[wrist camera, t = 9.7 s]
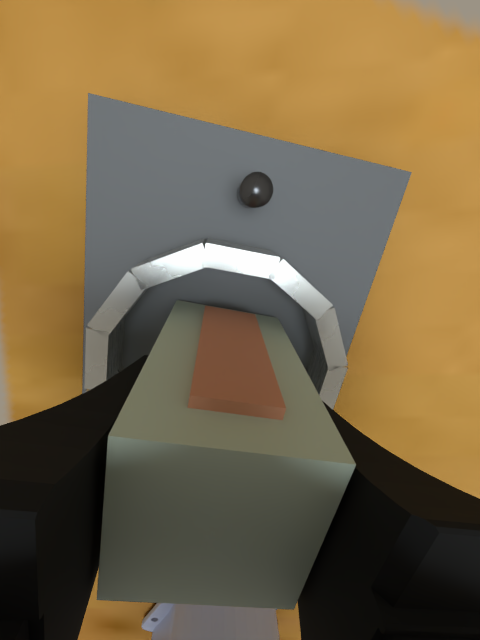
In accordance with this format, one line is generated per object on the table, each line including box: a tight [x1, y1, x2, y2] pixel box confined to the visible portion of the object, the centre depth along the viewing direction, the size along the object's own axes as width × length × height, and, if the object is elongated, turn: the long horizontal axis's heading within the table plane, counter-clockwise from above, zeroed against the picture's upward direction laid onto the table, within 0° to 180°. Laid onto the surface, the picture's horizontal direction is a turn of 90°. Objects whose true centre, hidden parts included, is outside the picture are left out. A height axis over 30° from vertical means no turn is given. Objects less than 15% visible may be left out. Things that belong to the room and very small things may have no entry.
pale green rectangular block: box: [97, 300, 356, 610], centre depth 10 cm, size 4×5×8 cm
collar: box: [85, 172, 348, 409], centre depth 12 cm, size 13×10×2 cm
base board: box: [82, 93, 411, 394], centre depth 14 cm, size 18×12×1 cm, turn 169°
